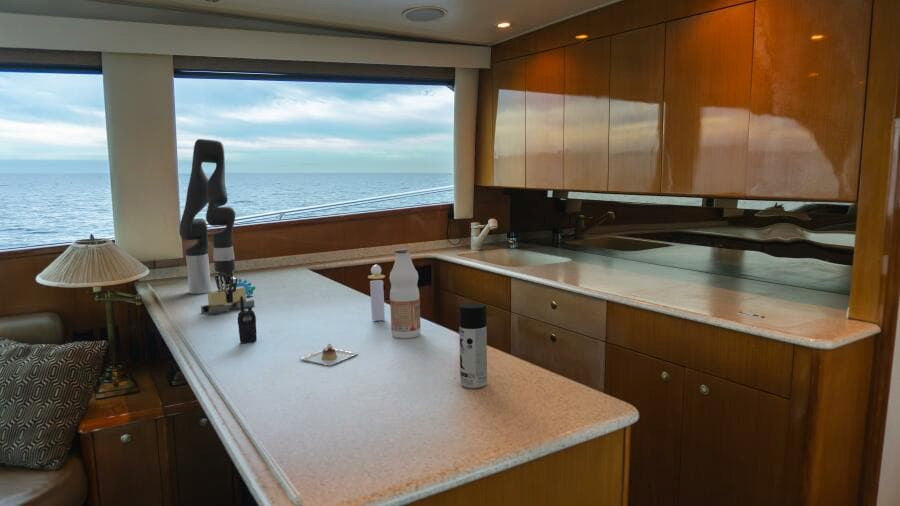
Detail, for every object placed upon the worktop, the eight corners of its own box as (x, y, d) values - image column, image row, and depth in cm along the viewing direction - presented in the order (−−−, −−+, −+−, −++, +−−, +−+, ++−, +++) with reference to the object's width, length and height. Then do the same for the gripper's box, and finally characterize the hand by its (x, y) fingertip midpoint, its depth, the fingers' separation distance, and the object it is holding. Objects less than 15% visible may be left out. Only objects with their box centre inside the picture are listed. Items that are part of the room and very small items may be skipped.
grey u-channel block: (201, 312, 231) (200, 306, 231) (243, 303, 245) (243, 297, 244) (211, 315, 226) (211, 309, 226) (254, 306, 239) (254, 300, 239)
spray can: (459, 380, 151) (457, 302, 148) (485, 378, 152) (484, 301, 149) (461, 390, 144) (459, 309, 142) (489, 388, 145) (488, 307, 142)
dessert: (330, 369, 164) (329, 352, 163) (299, 362, 170) (298, 346, 169) (359, 356, 174) (358, 340, 173) (328, 351, 180) (327, 335, 179)
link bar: (208, 307, 231) (207, 292, 230) (242, 301, 241) (240, 286, 241) (212, 308, 229) (211, 293, 228) (246, 302, 239) (245, 287, 238)
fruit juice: (397, 340, 187) (394, 252, 183) (387, 333, 195) (383, 248, 191) (425, 336, 191) (422, 249, 187) (414, 329, 199) (411, 246, 195)
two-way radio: (240, 344, 187) (236, 297, 185) (238, 341, 191) (234, 295, 189) (258, 341, 190) (254, 295, 188) (255, 338, 194) (252, 293, 192)
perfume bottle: (381, 323, 208) (378, 266, 205) (367, 322, 211) (364, 266, 208) (389, 319, 213) (387, 264, 210) (375, 318, 216) (373, 263, 213)
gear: (232, 296, 251) (228, 277, 257) (228, 304, 255) (225, 286, 260) (258, 296, 258) (254, 277, 263) (254, 304, 261) (250, 286, 267)
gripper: (206, 258, 234) (209, 301, 237) (224, 261, 225) (227, 306, 228) (224, 255, 240) (227, 297, 242) (242, 258, 231) (245, 302, 233)
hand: (227, 301), depth 235 cm, fingers closed on link bar, 3 cm apart
